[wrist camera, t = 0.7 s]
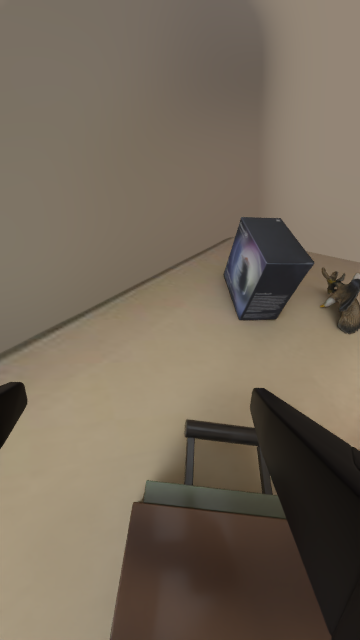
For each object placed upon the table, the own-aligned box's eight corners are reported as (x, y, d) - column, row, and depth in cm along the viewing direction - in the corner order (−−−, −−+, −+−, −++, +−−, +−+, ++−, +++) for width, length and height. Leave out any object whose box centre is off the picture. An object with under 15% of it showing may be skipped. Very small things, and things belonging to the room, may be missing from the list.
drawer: (155, 425, 22) (157, 409, 18) (278, 440, 22) (303, 427, 19) (86, 896, 10) (48, 1132, 6) (360, 914, 10) (480, 1147, 6)
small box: (220, 274, 39) (239, 214, 31) (255, 274, 40) (282, 216, 32) (236, 321, 33) (265, 261, 25) (277, 320, 34) (318, 262, 26)
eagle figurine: (299, 284, 38) (327, 318, 31) (341, 252, 34) (382, 283, 28) (322, 306, 41) (352, 342, 34) (362, 280, 38) (405, 313, 31)
